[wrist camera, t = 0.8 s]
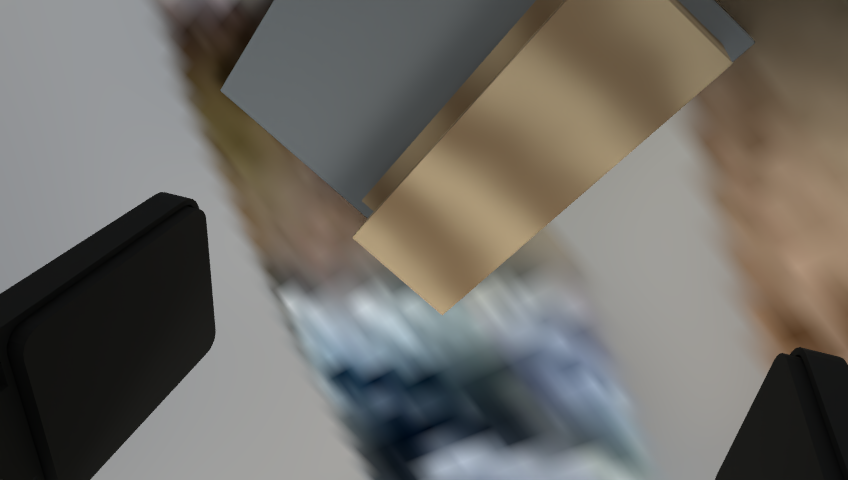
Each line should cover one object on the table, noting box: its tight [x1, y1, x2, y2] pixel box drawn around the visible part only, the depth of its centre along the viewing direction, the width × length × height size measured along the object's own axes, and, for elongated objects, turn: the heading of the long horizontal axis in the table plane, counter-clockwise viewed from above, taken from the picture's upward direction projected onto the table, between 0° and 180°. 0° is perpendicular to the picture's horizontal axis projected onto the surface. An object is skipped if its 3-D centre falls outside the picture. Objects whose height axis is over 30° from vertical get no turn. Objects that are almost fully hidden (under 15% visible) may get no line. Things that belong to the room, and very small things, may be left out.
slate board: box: [220, 0, 755, 218], centre depth 35 cm, size 22×20×2 cm
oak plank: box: [352, 0, 733, 315], centre depth 34 cm, size 20×8×4 cm, turn 142°
